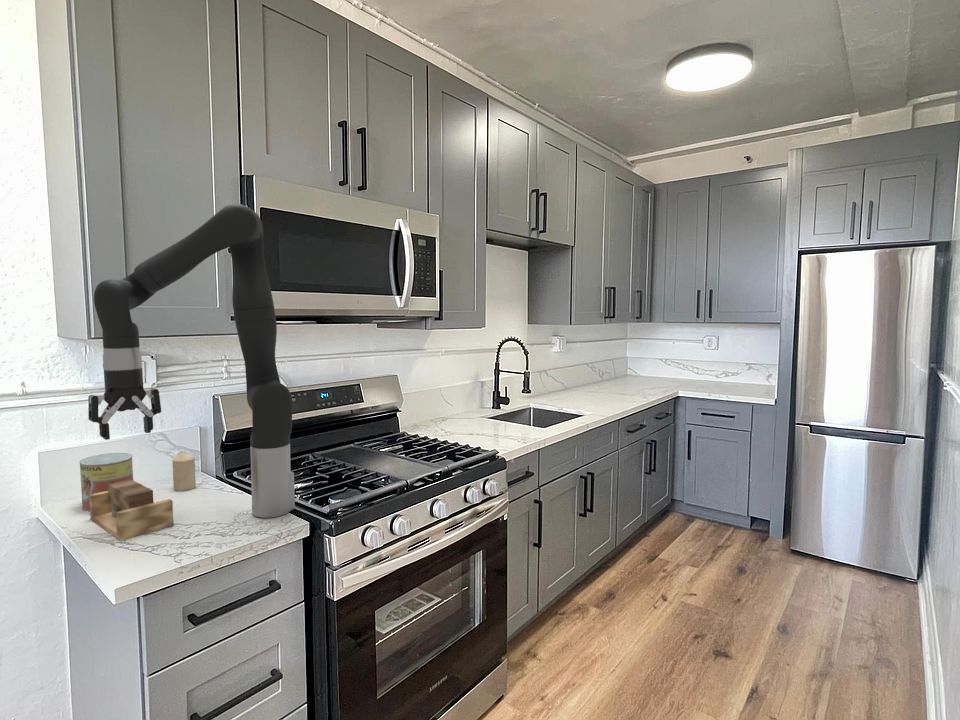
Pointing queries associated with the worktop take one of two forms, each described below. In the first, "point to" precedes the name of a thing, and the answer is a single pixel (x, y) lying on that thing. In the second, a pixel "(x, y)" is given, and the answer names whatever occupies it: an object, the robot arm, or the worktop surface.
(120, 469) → the canned food
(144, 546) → the worktop surface
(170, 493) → the worktop surface
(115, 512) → the peg frame
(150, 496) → the brown wooden block
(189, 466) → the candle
